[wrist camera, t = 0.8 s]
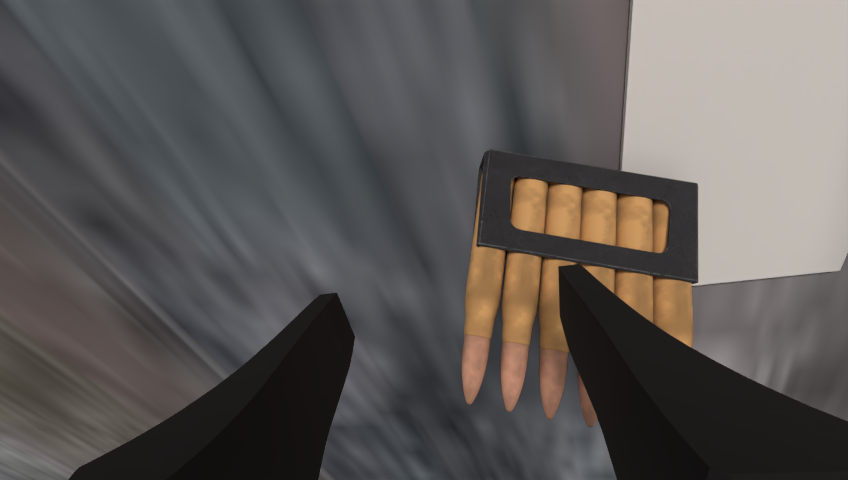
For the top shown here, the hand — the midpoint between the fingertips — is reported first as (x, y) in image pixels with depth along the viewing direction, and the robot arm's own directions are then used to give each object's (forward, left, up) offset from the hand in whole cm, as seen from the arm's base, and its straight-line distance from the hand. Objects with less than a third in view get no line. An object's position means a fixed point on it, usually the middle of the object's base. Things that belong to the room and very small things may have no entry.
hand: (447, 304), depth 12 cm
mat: (-15, 0, -10) cm, 19 cm away
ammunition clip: (-7, 0, -10) cm, 12 cm away
